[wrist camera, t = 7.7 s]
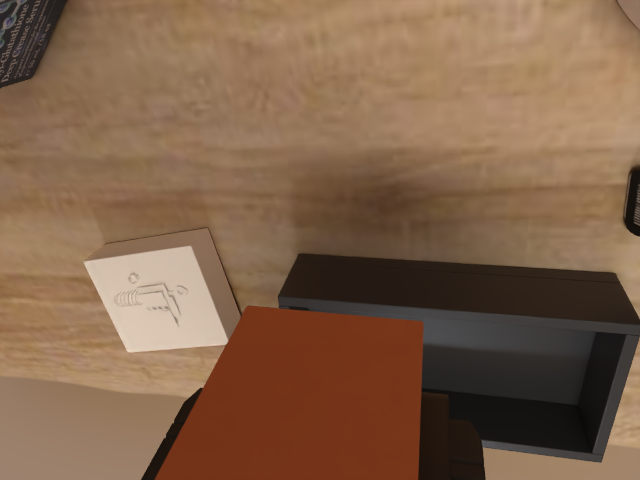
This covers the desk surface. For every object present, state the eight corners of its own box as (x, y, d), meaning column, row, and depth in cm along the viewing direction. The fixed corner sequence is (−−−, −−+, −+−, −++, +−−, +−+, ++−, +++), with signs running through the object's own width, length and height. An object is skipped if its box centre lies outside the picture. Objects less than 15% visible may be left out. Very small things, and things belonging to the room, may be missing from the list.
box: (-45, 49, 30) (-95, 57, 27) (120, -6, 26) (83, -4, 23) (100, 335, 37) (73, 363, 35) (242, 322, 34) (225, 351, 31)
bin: (582, 400, 32) (601, 463, 28) (307, 371, 35) (291, 422, 31) (615, 272, 27) (643, 325, 23) (298, 253, 31) (277, 296, 27)
